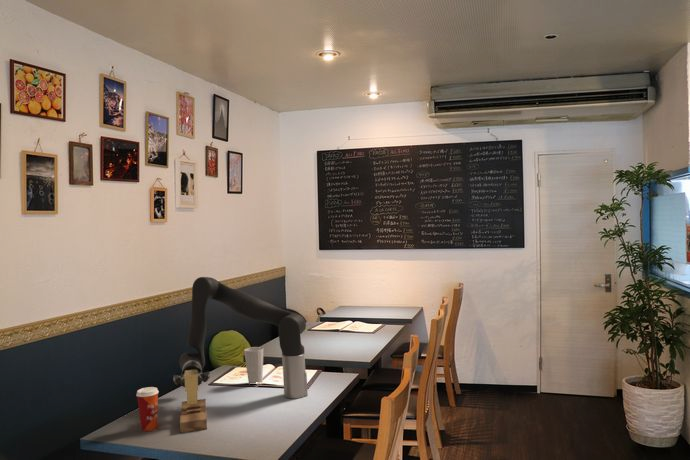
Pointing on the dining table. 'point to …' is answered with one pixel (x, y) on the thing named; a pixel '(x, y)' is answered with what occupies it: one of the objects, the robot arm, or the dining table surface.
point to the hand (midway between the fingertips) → (191, 383)
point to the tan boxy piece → (191, 386)
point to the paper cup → (148, 408)
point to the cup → (254, 364)
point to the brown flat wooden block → (193, 416)
